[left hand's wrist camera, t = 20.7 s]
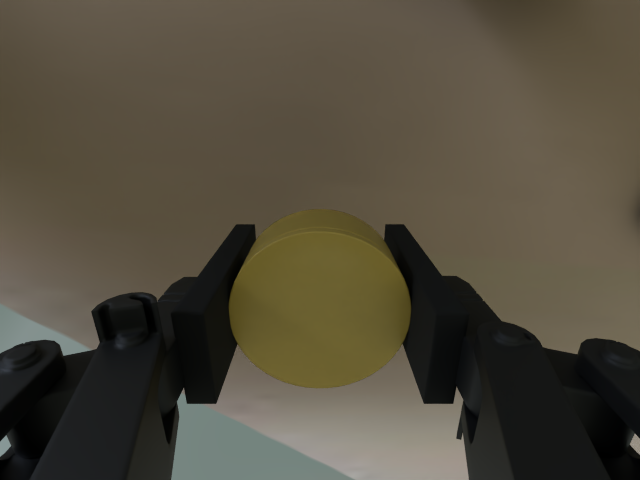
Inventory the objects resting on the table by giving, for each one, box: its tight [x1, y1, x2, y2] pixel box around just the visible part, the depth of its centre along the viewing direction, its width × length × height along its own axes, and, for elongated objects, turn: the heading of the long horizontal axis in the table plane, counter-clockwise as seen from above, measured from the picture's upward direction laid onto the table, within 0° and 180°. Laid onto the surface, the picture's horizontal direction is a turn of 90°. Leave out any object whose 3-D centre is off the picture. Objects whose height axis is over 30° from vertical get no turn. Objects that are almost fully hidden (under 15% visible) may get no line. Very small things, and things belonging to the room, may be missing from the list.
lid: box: [229, 209, 411, 388], centre depth 11 cm, size 5×5×2 cm
